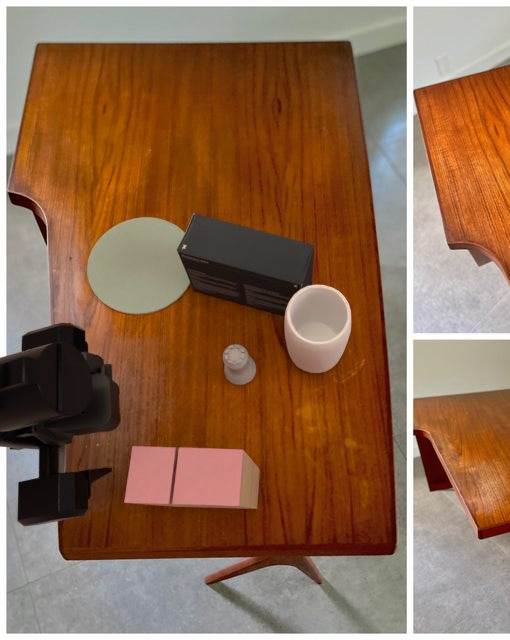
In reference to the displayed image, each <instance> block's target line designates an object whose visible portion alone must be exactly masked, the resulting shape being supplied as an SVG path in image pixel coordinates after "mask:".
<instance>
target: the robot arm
mask: <svg viewBox="0 0 510 640" xmlns="http://www.w3.org/2000/svg"><path fill="white" fill-rule="evenodd" d="M120 393H121V392H120V386H119V385H118V383H117V382H116V381H114V380H113V365H112V364H111V363H105V359H104V358H103V357H102V356H101V355H99V354H95V353H92V352H89V342H87V340H86V330H85V329H83V328H82V327H81V326H79V325H76V324H74V323H71V322H59V323H55V324H52V325H48V326H45V327H40V328H37V329H34V330H30V331H28V332H26V333H24V334H23V335H22V336H21V351H19V352H15V353H12V354H8V355H5V356H1V357H0V448H9V450H11V451H20V450H38V477H34V478H31V479H25V480H21V481H18V482H17V515H16V522H18V523H19V524H20V525H21V526H23V527H34V526H41V525H45V524H51V523H57V522H61V521H66V520H67V521H68V520H71V519H72V520H73V519H76V518H83V517H84V516H85V515H86V513H87V512H88V511H89V500H90V499H91V497H92V484H93V483H95V482H97V481H98V480H99V479H102V478H104V477H105V476H107V475H110V474H111V473H113V468H112V467H108V466H104V467H99V468H97V467H96V468H88V469H84V470H79V471H68V445H69V444H73V437H74V436H85V435H92V434H97V433H107V432H111V431H114V430H116V429H117V428H118V427H119V426H120V424H121V421H122V419H121V408H120V407H121V405H120V403H121V402H120Z"/></svg>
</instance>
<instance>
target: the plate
mask: <svg viewBox="0 0 510 640" xmlns="http://www.w3.org/2000/svg"><path fill="white" fill-rule="evenodd" d="M184 234H185V231H184V230H183V229H182V228H180V227H179V226H178V225H177V224H174V223H172V222H170V221H168V220H165V219H163V218H158V217H153V216H152V217H151V216H150V217H149V216H143V217H142V216H141V217H135V218H131V219H127V220H124V221H122V222H119V223H117V224H116V225H114V226H112V227H111V228H110V229H108V230H106V231H105V232H104V234H102V235H101V236H100V237H99V238H98V239H97V240H96V242H95V243H94V245H93V247H92V249H91V251H90V253H89V256H88V260H87V266H86V274H87V280H88V284H89V286H90V289H91V290H92V291H93V293H94V295H95V297H96V298H97V299H98V300H99V301H100V302H101V303H102V304H103V305H105V306H106V307H108V308H110V309H111V310H113V311H116V312H118V313H121V314H125V315H133V316H143V315H149V314H154V313H157V312H160V311H162V310H164V309H166V308H169V307H170V306H172V305H173V304H175V303H176V302H177V301H179V300H180V299H181V298H182V297H183V296H184V295H185V294H186V292H187V291H188V290H189V288H190V286H191V283H190V281H189V278H188V276H187V273H186V271H185V268H184V266H183V264H182V261H181V259H180V257H179V254H178V252H177V248H178V246H179V244H180V242H181V240H182V238H183V236H184Z"/></svg>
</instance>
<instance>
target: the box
mask: <svg viewBox="0 0 510 640" xmlns="http://www.w3.org/2000/svg"><path fill="white" fill-rule="evenodd" d="M184 233H185V234H184V236H183V238H182V240H181V242H180V244H179V246H178V248H177V252H178V254H179V257H180V259H181V261H182V264H183V266H184V268H185V271H186V273H187V276H188V278H189V281H190V283H191V285H190V286H191V289H192V291H193V292H197V293H201V294H204V295H207V296H211V297H215V298H218V299H223V300H225V301H230V302H233V303H237V304H241V305H244V306H247V307H251V308H255V309H258V310H262V311H266V312H269V313H274V314H277V315H281V316H284V317H285V312H286V308H287V305H288V303H289V301H290V299H291V298H292V297H293V295H294V294H295V293H297V292H298V291H299V290H300V289H302V288H304V287H306V286H310V285H313V281H314V279H313V276H314V262H315V261H314V260H315V247H316V245H315V244H314V243H313V244H312V243H309V242H304V241H300V240H297V239H293V238H289V237H286V236H281V235H279V234H274V233H270V232H267V231H264V230H259V229H255V228H251V227H248V226H244V225H240V224H236V223H232V222H230V221H229V222H228V221H225V220H223V219H222V220H221V219H218V218H213V217H210V216H206V215H202V214H199V213H195V212H193V213H192V215H191V217H190V220H189V222H188V225H187V228H186V230H185V231H184Z"/></svg>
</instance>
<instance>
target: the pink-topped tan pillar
mask: <svg viewBox="0 0 510 640" xmlns="http://www.w3.org/2000/svg"><path fill="white" fill-rule="evenodd" d="M178 450H179V448H177V447H175V446H149V445H148V446H147V445H132V447H131V452H130V453H131V454H130V460H129V467H128V473H127V480H126V487H125V492H124V502H123V503H124V504H134V505H135V504H136V505H148V506H158V507H174V508H197V507H196V506H188V505H177V504H172V501H173V493H174V484H175V476H176V467H177V459H178ZM200 508H203V509H204V508H205V509H208V508H209V507H199V509H200Z"/></svg>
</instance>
